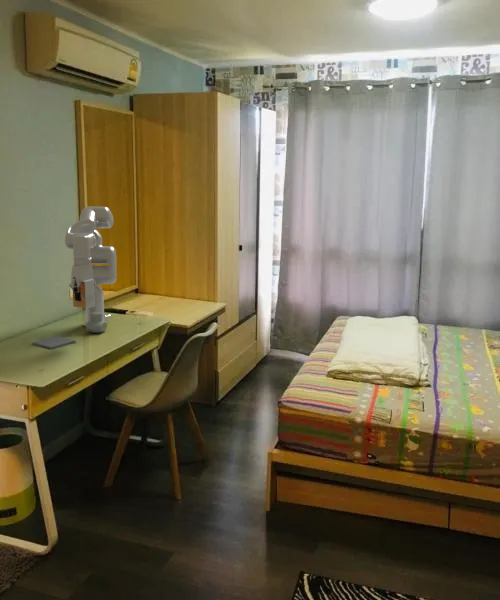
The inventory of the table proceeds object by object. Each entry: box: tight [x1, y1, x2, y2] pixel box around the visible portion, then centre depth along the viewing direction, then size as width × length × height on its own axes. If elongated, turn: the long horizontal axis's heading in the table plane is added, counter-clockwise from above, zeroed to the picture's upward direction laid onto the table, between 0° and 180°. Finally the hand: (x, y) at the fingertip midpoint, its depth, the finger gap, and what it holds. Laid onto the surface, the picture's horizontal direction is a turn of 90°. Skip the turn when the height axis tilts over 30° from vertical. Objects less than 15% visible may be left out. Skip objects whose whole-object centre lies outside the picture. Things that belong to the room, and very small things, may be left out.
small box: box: [72, 279, 95, 310], centre depth 280 cm, size 8×6×13 cm
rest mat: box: [31, 335, 77, 350], centre depth 283 cm, size 14×14×1 cm
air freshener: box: [85, 312, 108, 334], centre depth 304 cm, size 11×8×10 cm
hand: (83, 298), depth 281 cm, fingers closed on small box, 6 cm apart
